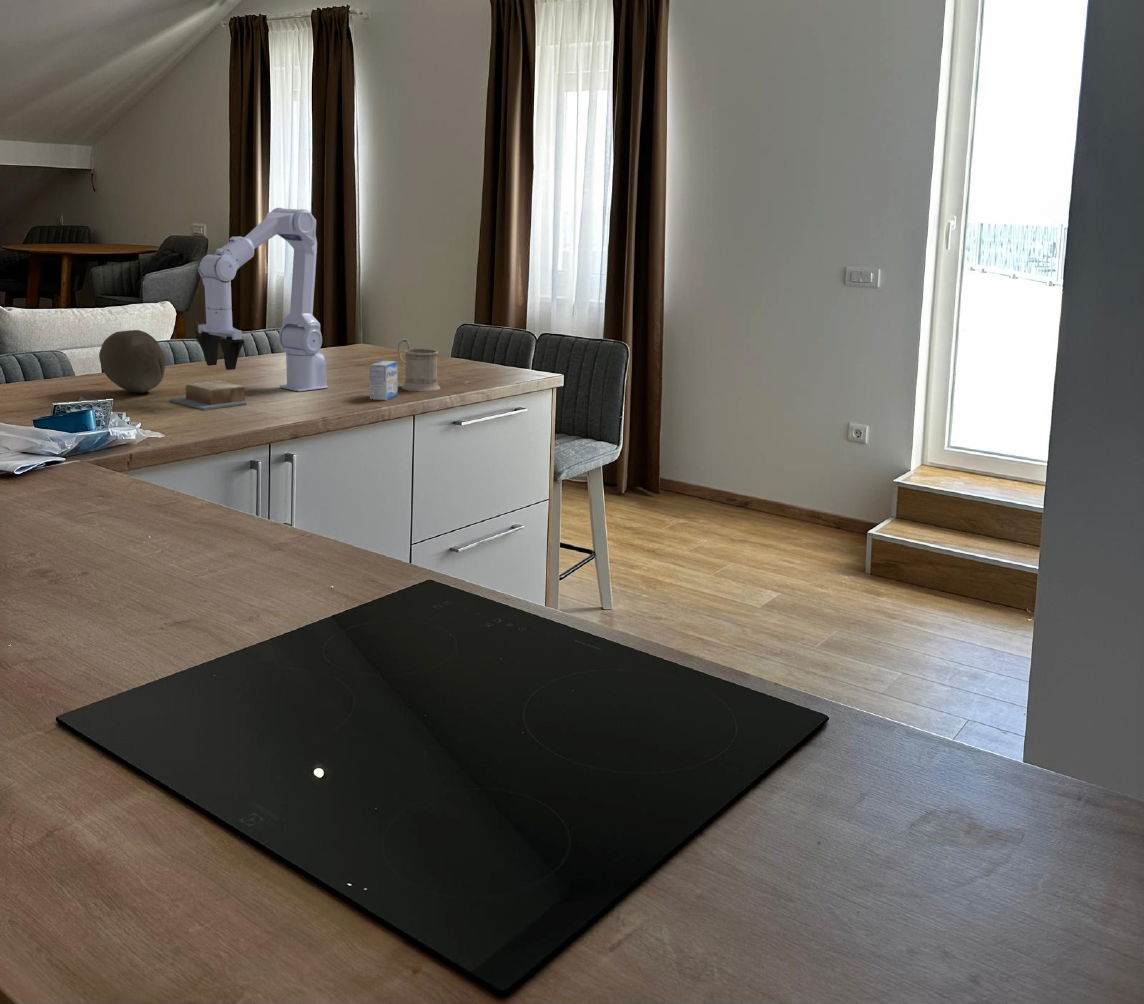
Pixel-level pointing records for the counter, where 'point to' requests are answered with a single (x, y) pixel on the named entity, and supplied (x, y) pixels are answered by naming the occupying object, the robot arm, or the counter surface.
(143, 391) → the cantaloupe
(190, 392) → the brown wooden block
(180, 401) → the mat
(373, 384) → the medicine box
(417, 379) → the mug
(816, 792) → the counter surface
